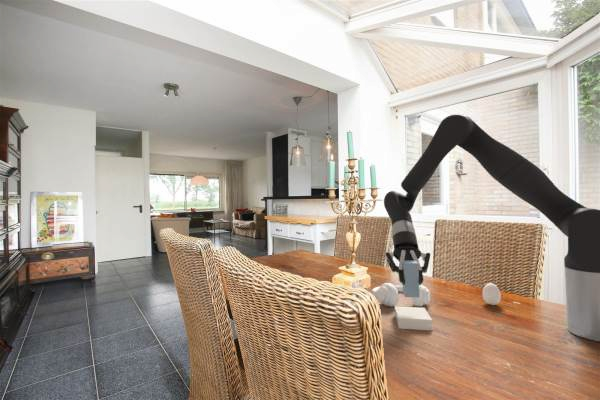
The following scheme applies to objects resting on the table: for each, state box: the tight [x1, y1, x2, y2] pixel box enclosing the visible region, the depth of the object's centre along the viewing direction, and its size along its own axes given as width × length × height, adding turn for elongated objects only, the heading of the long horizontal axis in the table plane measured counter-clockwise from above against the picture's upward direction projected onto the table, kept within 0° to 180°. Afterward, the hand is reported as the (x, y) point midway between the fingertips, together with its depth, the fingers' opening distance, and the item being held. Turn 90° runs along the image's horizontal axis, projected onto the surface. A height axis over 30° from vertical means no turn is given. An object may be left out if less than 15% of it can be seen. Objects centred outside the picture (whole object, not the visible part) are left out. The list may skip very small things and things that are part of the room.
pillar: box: [402, 260, 419, 298], centre depth 84 cm, size 4×4×10 cm
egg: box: [481, 282, 502, 306], centre depth 95 cm, size 5×5×7 cm
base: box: [394, 305, 433, 331], centre depth 83 cm, size 9×9×3 cm
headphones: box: [371, 282, 431, 308], centre depth 104 cm, size 20×8×20 cm
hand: (411, 283), depth 82 cm, fingers closed on pillar, 4 cm apart
